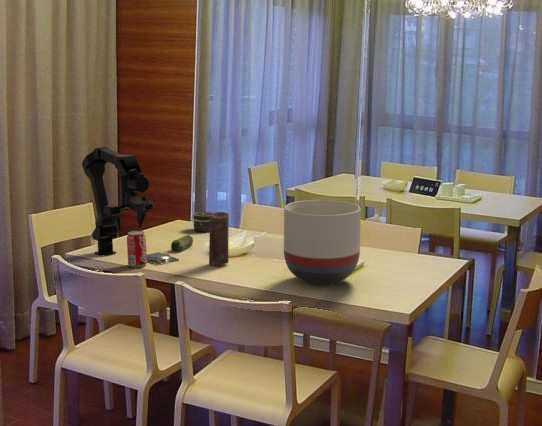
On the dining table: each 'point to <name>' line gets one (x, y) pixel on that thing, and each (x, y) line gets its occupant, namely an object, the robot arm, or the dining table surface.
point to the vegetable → (182, 243)
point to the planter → (322, 240)
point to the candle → (218, 238)
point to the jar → (202, 222)
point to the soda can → (136, 249)
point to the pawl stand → (160, 258)
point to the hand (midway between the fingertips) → (129, 229)
